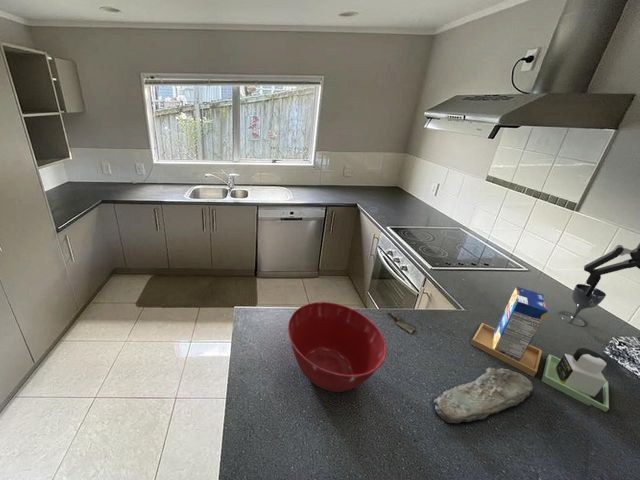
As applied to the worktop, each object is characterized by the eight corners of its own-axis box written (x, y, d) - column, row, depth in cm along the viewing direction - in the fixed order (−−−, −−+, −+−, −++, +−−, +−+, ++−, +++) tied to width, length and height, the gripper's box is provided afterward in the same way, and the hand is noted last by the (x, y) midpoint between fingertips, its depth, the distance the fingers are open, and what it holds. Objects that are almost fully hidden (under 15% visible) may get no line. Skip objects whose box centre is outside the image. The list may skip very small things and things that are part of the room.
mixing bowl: (382, 357, 94) (392, 322, 88) (365, 436, 71) (378, 395, 65) (303, 324, 107) (307, 291, 101) (268, 382, 84) (271, 344, 78)
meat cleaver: (406, 334, 104) (417, 332, 106) (407, 332, 104) (418, 330, 105) (385, 313, 114) (394, 311, 116) (385, 310, 114) (395, 309, 115)
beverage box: (492, 352, 97) (518, 301, 88) (492, 334, 105) (516, 286, 96) (518, 363, 93) (547, 311, 84) (516, 344, 101) (543, 294, 92)
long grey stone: (421, 401, 82) (451, 438, 73) (426, 390, 79) (458, 427, 71) (504, 367, 91) (540, 396, 83) (511, 356, 89) (549, 385, 80)
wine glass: (590, 324, 113) (610, 294, 107) (580, 329, 110) (600, 298, 104) (564, 311, 120) (582, 282, 114) (554, 315, 117) (571, 286, 111)
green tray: (604, 386, 87) (608, 381, 86) (604, 414, 79) (609, 408, 78) (546, 359, 96) (549, 354, 95) (541, 381, 88) (544, 375, 87)
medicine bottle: (554, 368, 92) (571, 341, 87) (584, 379, 88) (604, 351, 84) (561, 385, 86) (581, 357, 81) (594, 397, 83) (616, 369, 78)
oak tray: (539, 355, 97) (542, 350, 96) (533, 377, 89) (536, 371, 88) (480, 327, 109) (482, 322, 108) (470, 344, 101) (472, 339, 100)
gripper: (759, 253, 63) (697, 326, 72) (596, 219, 80) (561, 281, 89) (772, 264, 59) (704, 340, 67) (595, 226, 76) (559, 290, 84)
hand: (622, 306), depth 78 cm, fingers open, 13 cm apart
